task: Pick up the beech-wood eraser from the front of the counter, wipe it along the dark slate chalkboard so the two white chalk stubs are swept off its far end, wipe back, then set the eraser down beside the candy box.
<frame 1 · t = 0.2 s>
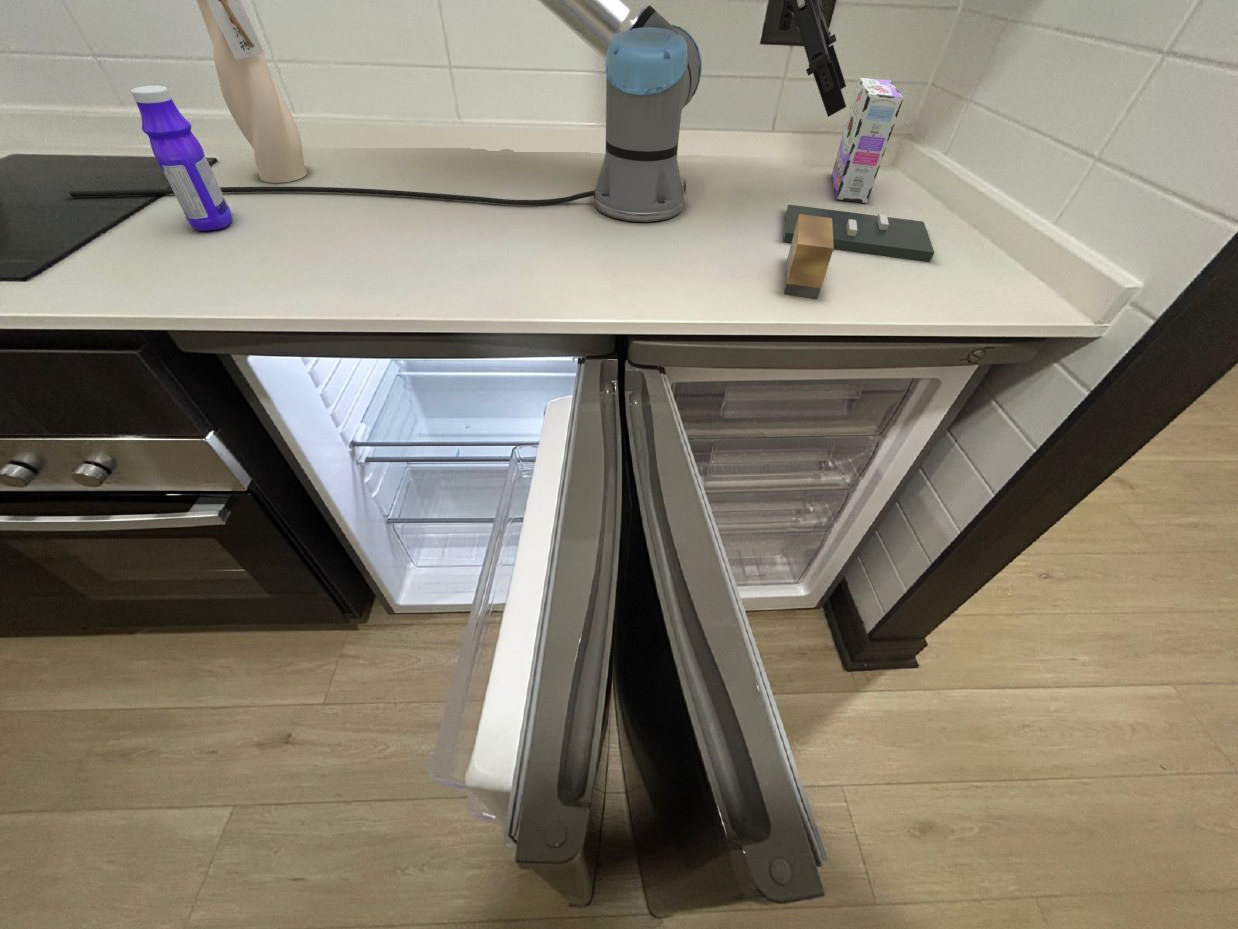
hand: (837, 100, 89), 15 cm above the counter, tool tilted 35°, fingers open, 13 cm apart
chalk a: (850, 230, 87), point 1 cm above the counter, touching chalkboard
chalk b: (881, 225, 89), point 1 cm above the counter, touching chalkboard
bottle: (214, 225, 84), on the counter
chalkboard: (853, 235, 89), on the counter
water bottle: (287, 177, 99), on the counter
eraser: (801, 279, 78), on the counter
candy box: (847, 190, 104), on the counter
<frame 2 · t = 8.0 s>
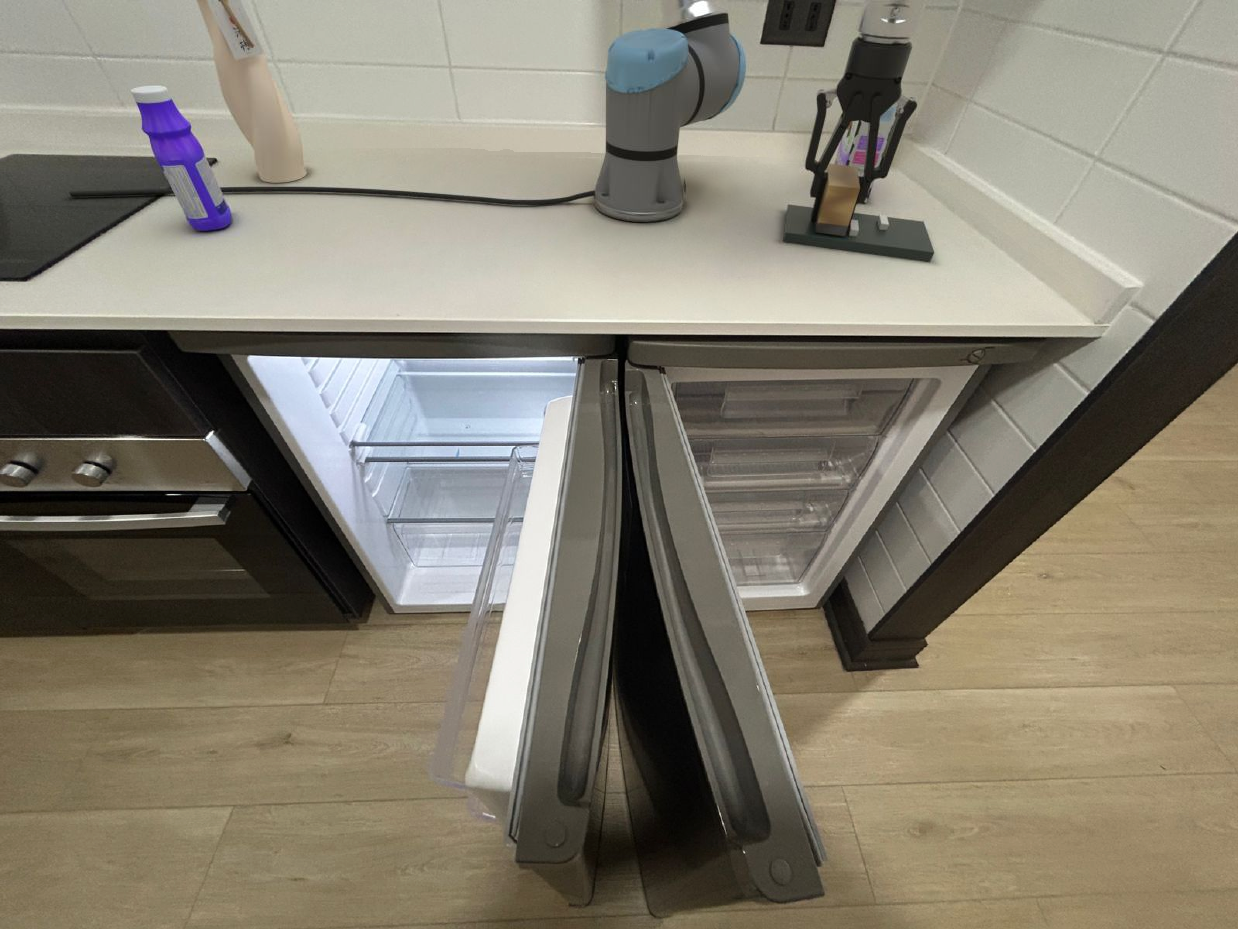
hand: (830, 220, 88), 2 cm above the counter, tool pointing down, fingers closed on eraser, 4 cm apart
chalk a: (852, 230, 87), point 2 cm above the counter, touching gripper
eraser: (829, 221, 88), point 2 cm above the counter, touching gripper
everything else where it was.
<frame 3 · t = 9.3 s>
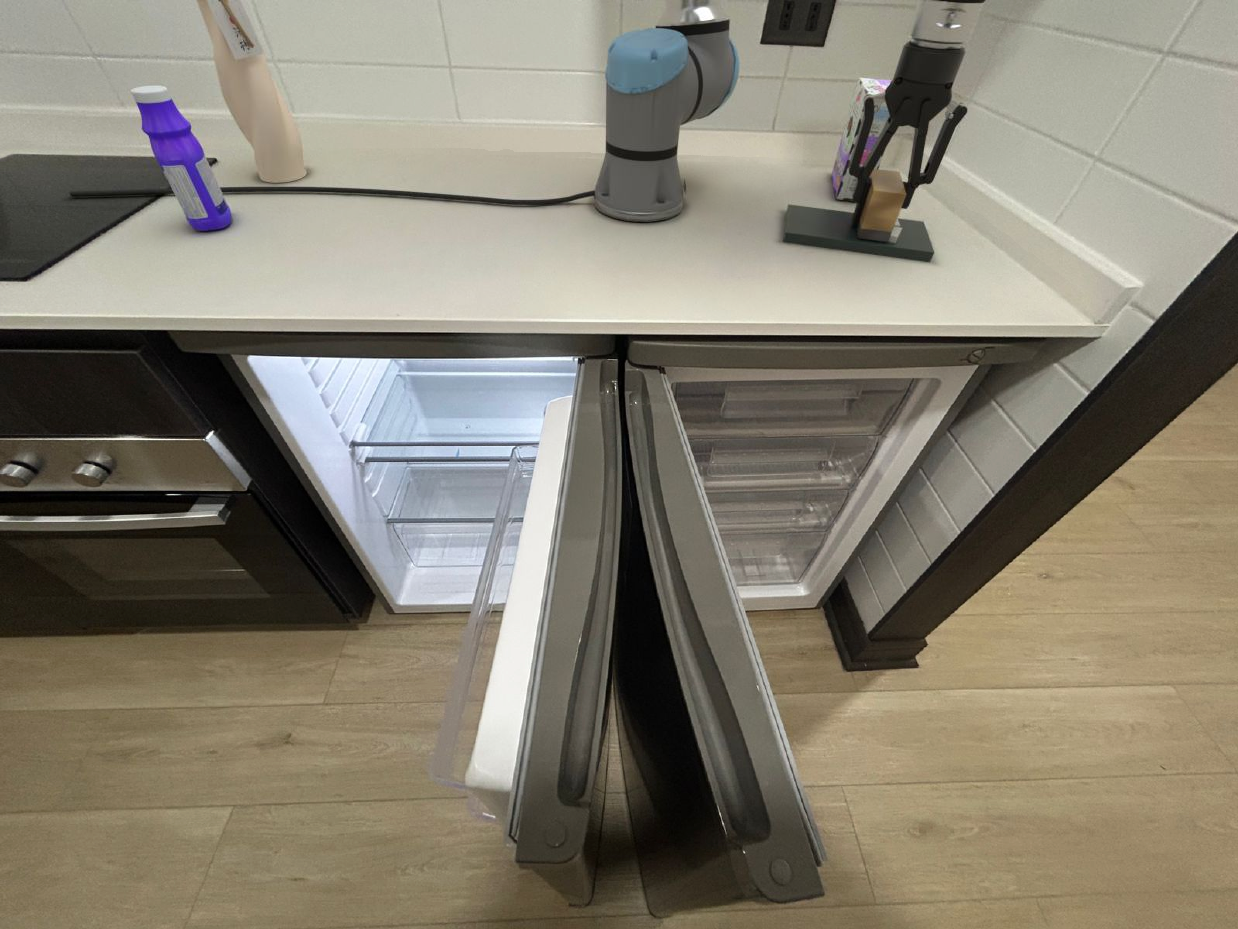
hand: (871, 225, 87), 2 cm above the counter, tool pointing down, fingers closed on eraser, 4 cm apart
chalk a: (893, 237, 85), point 2 cm above the counter, touching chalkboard, eraser, gripper
chalk b: (892, 226, 89), point 2 cm above the counter
eraser: (870, 227, 88), point 2 cm above the counter, touching chalk a, gripper
everything else where it was.
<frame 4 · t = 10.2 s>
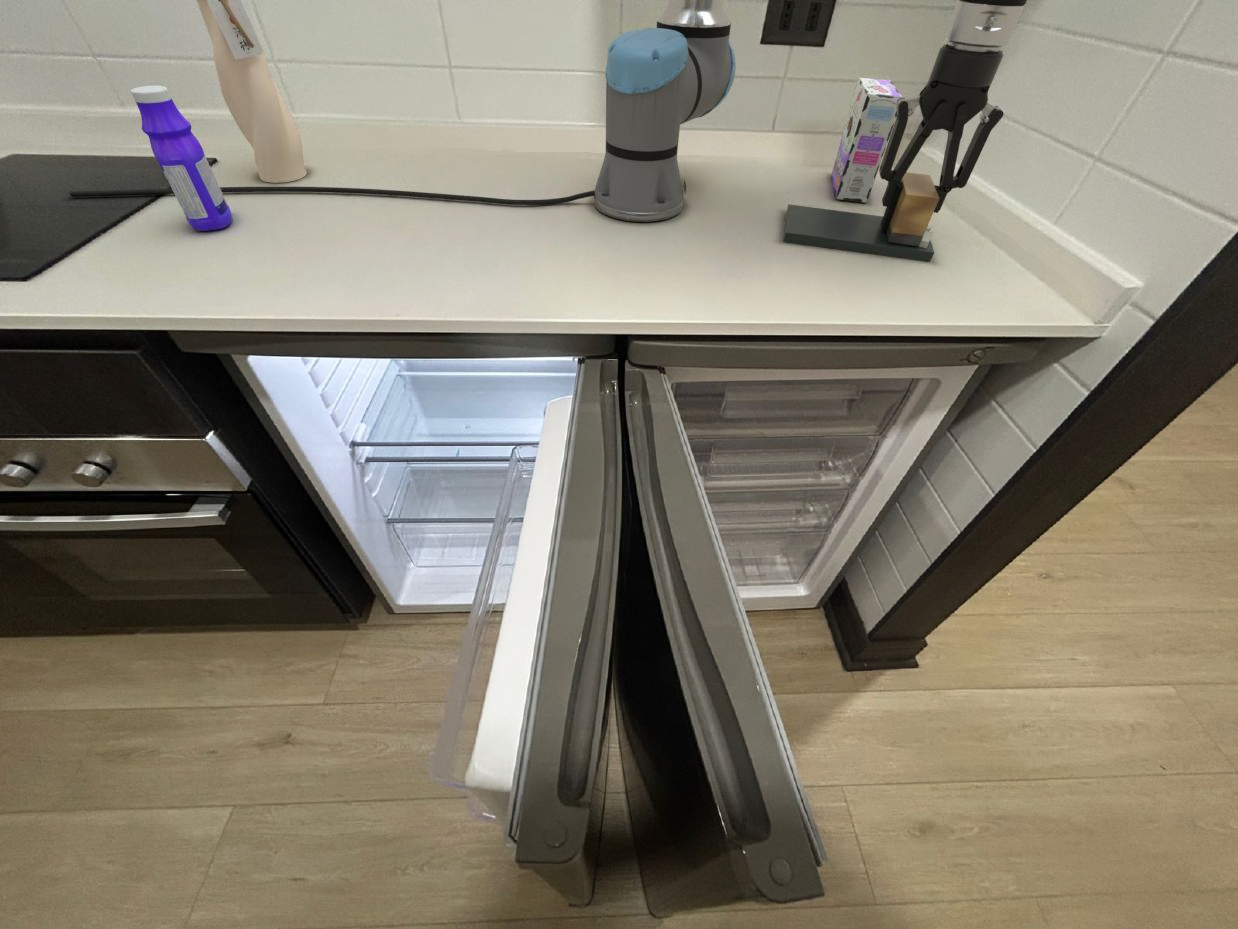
hand: (900, 229, 87), 2 cm above the counter, tool pointing down, fingers closed on eraser, 4 cm apart
chalk a: (923, 242, 85), point 2 cm above the counter, touching gripper
chalk b: (920, 229, 88), point 2 cm above the counter, touching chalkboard, gripper
eraser: (900, 231, 87), point 2 cm above the counter, touching gripper
everything else where it was.
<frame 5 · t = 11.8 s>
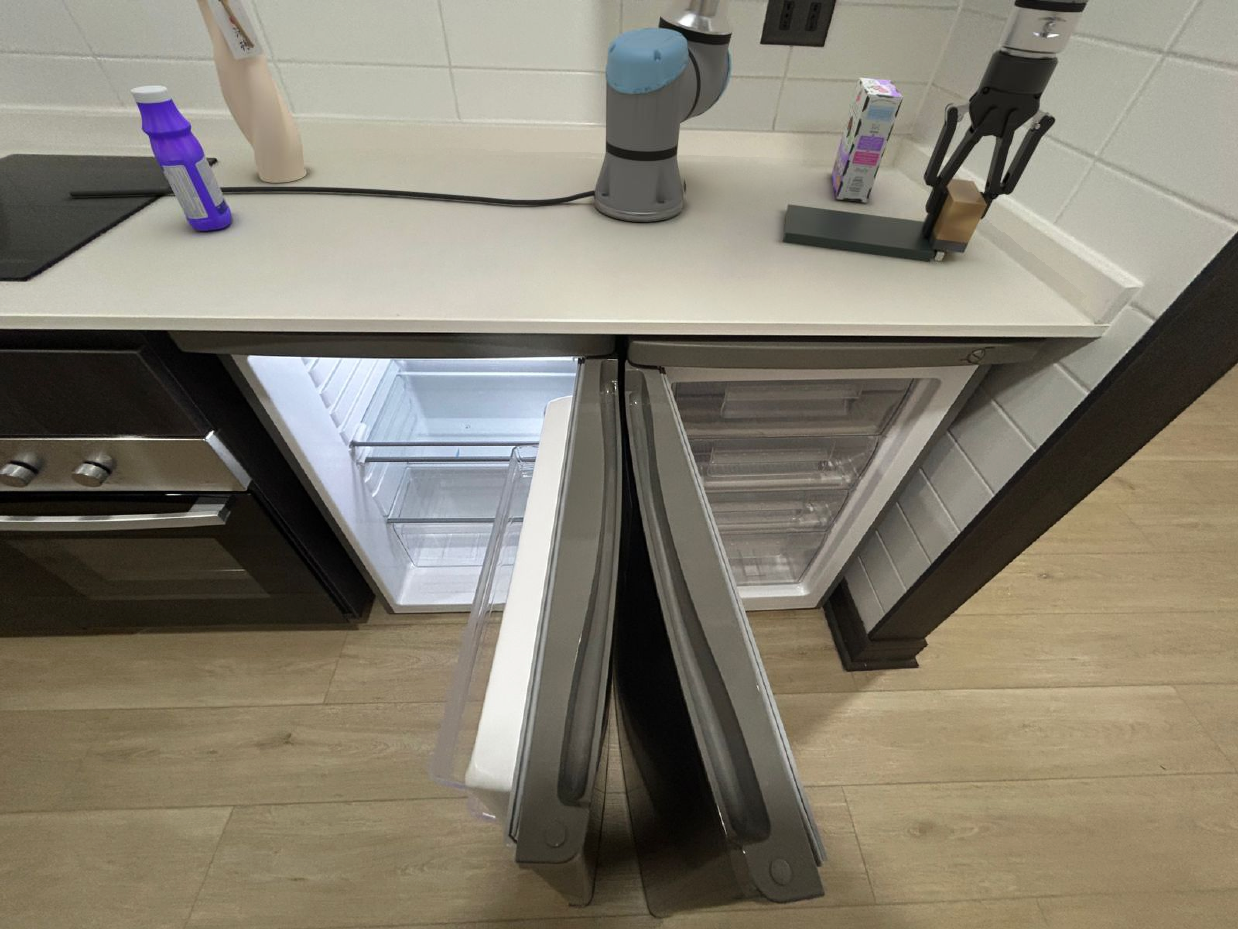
hand: (943, 235, 86), 2 cm above the counter, tool pointing down, fingers closed on eraser, 4 cm apart
chalk a: (935, 250, 85), point 1 cm above the counter, tilted 90°
chalk b: (927, 235, 89), point 1 cm above the counter, tilted 90°
eraser: (942, 237, 86), point 2 cm above the counter, touching gripper
everything else where it was.
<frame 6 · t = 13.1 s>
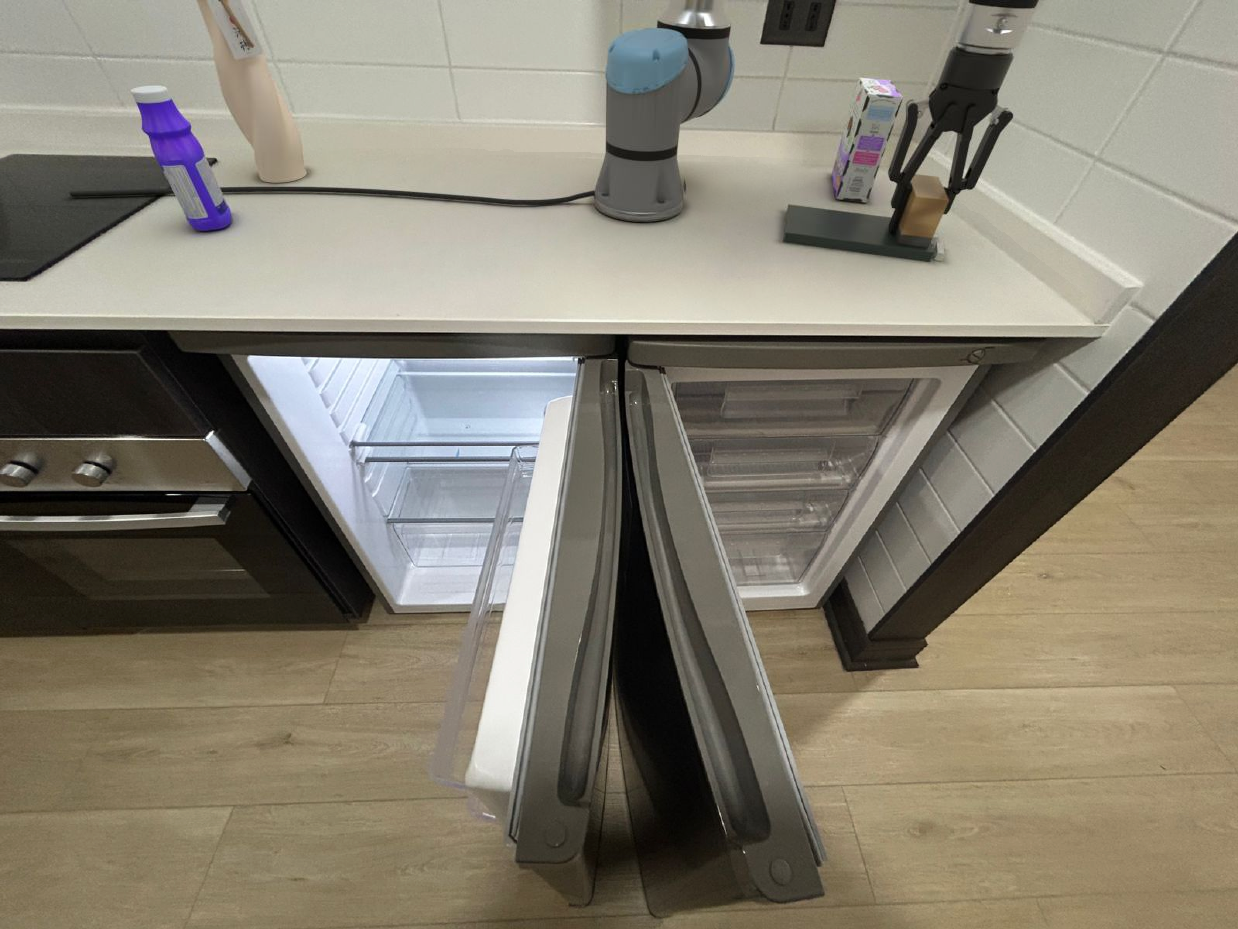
hand: (909, 231, 87), 2 cm above the counter, tool pointing down, fingers closed on eraser, 4 cm apart
eraser: (908, 232, 87), point 2 cm above the counter, touching gripper
everything else where it was.
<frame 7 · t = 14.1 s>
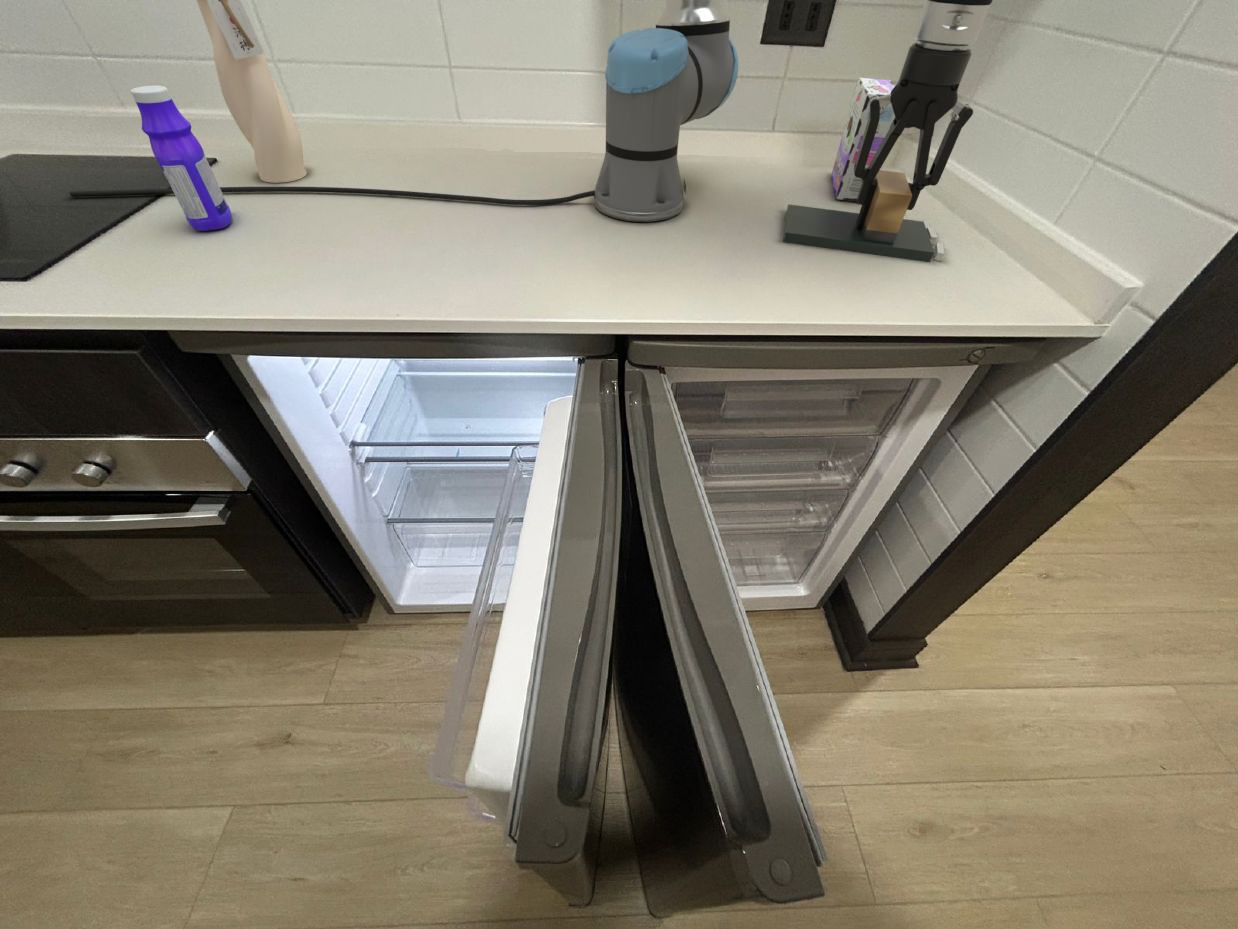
hand: (876, 227, 87), 2 cm above the counter, tool pointing down, fingers closed on eraser, 4 cm apart
eraser: (875, 228, 88), point 2 cm above the counter, touching gripper
everything else where it was.
when the fingers open (0 cm above the counter, at t = 22.4 s): eraser stays where it is, on the counter.
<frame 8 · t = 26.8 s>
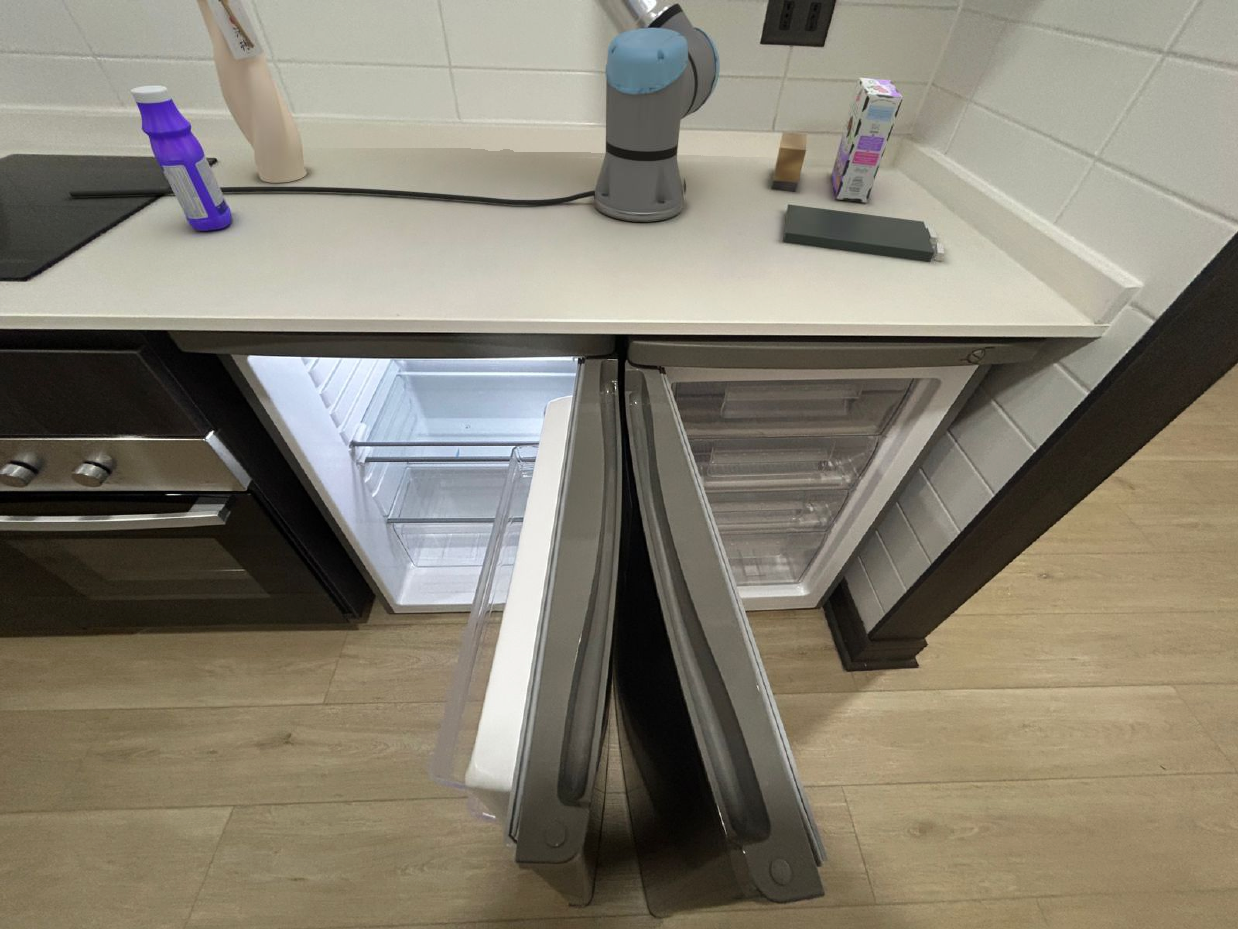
eraser: (784, 181, 106), on the counter
everything else where it was.
at the end: chalk a point 0.6 cm above the counter; chalk b point 0.6 cm above the counter; eraser 11.8 cm from the candy box (horizontally) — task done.
